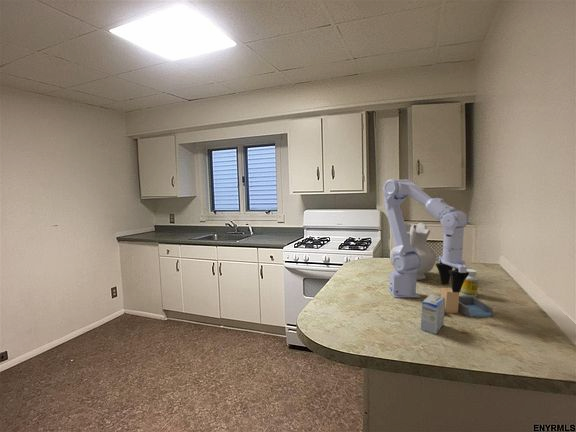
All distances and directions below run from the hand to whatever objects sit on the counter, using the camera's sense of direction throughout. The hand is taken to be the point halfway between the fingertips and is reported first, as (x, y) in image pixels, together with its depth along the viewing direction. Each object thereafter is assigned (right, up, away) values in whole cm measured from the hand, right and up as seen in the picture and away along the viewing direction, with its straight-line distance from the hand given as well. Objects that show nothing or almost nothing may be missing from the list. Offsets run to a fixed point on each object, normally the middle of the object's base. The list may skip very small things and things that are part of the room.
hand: (450, 288), depth 107 cm
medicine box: (-11, -9, -12) cm, 19 cm away
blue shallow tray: (+4, -8, +1) cm, 9 cm away
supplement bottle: (+15, -6, +16) cm, 23 cm away
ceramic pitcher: (+2, -4, +39) cm, 39 cm away
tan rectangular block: (0, -8, +1) cm, 8 cm away
